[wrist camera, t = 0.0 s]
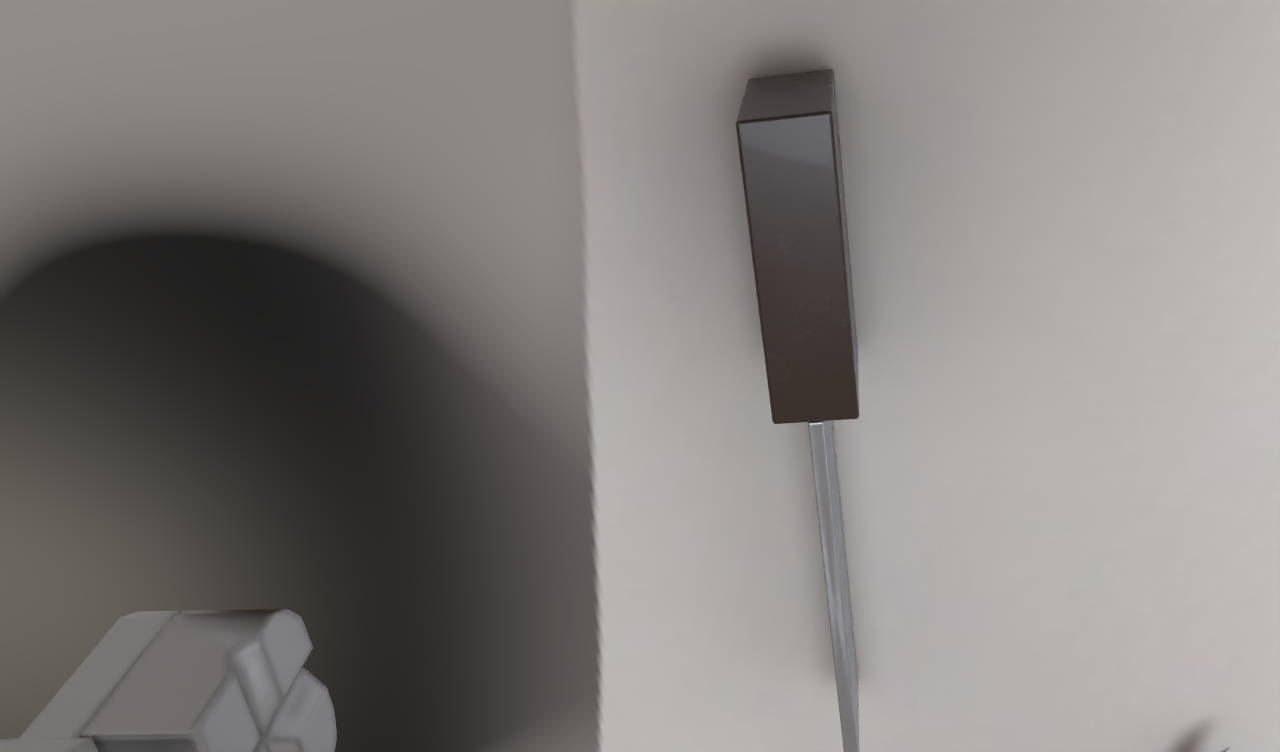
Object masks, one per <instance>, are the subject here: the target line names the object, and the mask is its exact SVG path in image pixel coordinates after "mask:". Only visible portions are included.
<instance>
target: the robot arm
mask: <svg viewBox="0 0 1280 752" xmlns="http://www.w3.org/2000/svg"><path fill="white" fill-rule="evenodd" d="M312 648H313V646H312V644H311V641H310V639H309V636H308V634H307V631H306V629H305V626H304V624H303V621H302V619H301V617H300V616H299V615H297V614H295V613H293V612H291V611H289V610H287V609H263V610H262V609H261V610H260V609H256V610H186V611H184V612H181V611H156V612H135V613H133V614H130V615H127V616H125V617H122V618H119V619H118V621H117V622H116V623H115V624H114V625H113V627H112V628H111V629H110V630H109V631H108V633H107V634H106V635H105V636H104V637H103V639H102V640H101V641H100V642H99V643H98V644H97V646H96V647H95V648H94V649H93V651H92V652H91V653H90V654H89V655H88V656H87V658H86V659H85V660H84V661H83V662H82V664H81V665H80V666H79V667H78V669H77V670H76V671H75V672H74V673H73V674H72V676H71V677H70V678H69V679H68V680H67V682H66V683H65V684H64V685H63V687H62V688H61V689H60V690H59V691H58V692H57V694H56V695H55V696H54V697H53V698H52V700H51V701H50V702H49V703H48V704H47V706H46V707H45V708H44V709H43V710H42V712H41V713H40V714H39V715H38V716H37V718H36V719H35V720H34V721H33V722H32V724H31V725H30V726H29V727H28V728H27V730H26V731H25V732H24V733H23V734H22V736H21V737H20V738H19V739H2V740H0V752H334V751H335V744H336V738H337V734H336V724H335V714H334V708H333V705H332V703H331V699H330V696H329V693H328V690H327V687H325V686H324V685H323V684H322V683H321V682H320V681H318V680H317V679H316V678H315V677H314V676H313V675H311V674H310V673H309V672H308V671H307V670H306V669H304V668H303V667H304V665H305V663H306V661H307V659H308V657H309V654H310V652H311V650H312Z"/></svg>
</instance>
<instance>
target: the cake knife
mask: <svg viewBox="0 0 1280 752" xmlns="http://www.w3.org/2000/svg"><path fill="white" fill-rule="evenodd" d="M736 129H737V137H738V146H739V154H740V162H741V170H742V178H743V186H744V194H745V202H746V210H747V218H748V226H749V235H750V243H751V251H752V259H753V267H754V275H755V283H756V291H757V299H758V307H759V315H760V324H761V332H762V340H763V348H764V356H765V364H766V372H767V380H768V388H769V396H770V404H771V413H772V421H773V423H774V424H782V423H797V422H808V428H809V437H810V446H811V455H812V464H813V473H814V483H815V492H816V501H817V510H818V519H819V528H820V538H821V547H822V556H823V565H824V574H825V583H826V592H827V602H828V611H829V620H830V629H831V638H832V647H833V657H834V666H835V675H836V684H837V693H838V702H839V712H840V721H841V730H842V739H843V748H844V752H859V700H858V674H857V664H856V654H855V644H854V634H853V623H852V613H851V603H850V593H849V583H848V573H847V563H846V553H845V543H844V533H843V522H842V512H841V502H840V492H839V482H838V472H837V462H836V452H835V442H834V432H833V422H832V420H845V419H857V418H858V417H859V388H858V347H857V335H856V323H855V312H854V300H853V289H852V277H851V265H850V254H849V242H848V231H847V219H846V207H845V196H844V184H843V173H842V161H841V149H840V138H839V126H838V115H837V103H836V91H835V80H834V72H833V70H823V71H814V72H806V73H798V74H790V75H781V76H773V77H765V78H756V79H750V80H748V83H747V87H746V90H745V94H744V97H743V101H742V104H741V108H740V111H739V115H738V118H737V122H736Z"/></svg>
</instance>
